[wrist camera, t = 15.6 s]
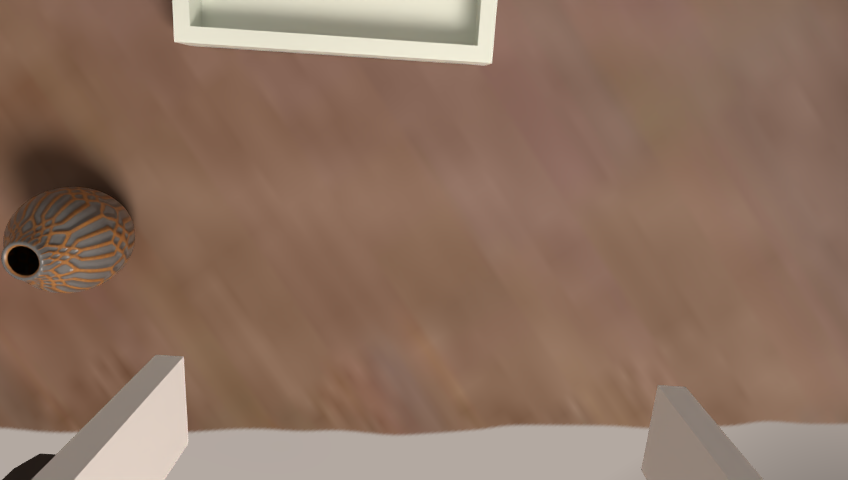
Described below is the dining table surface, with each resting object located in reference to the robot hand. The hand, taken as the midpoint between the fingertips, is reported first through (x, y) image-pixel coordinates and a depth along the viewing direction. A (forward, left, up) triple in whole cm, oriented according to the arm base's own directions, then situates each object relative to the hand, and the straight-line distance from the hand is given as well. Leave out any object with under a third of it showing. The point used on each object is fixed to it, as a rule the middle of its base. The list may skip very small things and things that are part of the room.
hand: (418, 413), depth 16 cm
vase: (+23, +2, -27) cm, 35 cm away
